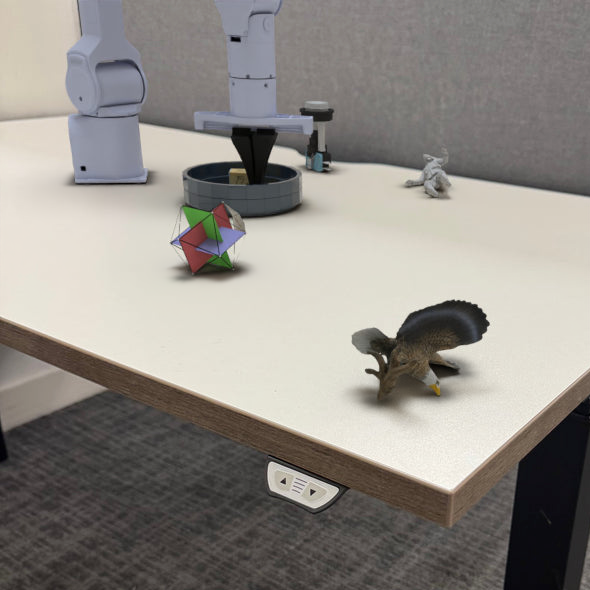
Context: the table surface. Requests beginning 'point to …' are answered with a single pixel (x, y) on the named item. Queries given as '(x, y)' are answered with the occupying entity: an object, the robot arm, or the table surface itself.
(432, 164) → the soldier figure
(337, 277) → the table surface
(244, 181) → the alphabet block
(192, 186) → the bowl
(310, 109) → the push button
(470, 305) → the eagle figurine
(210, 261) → the geometric puzzle
